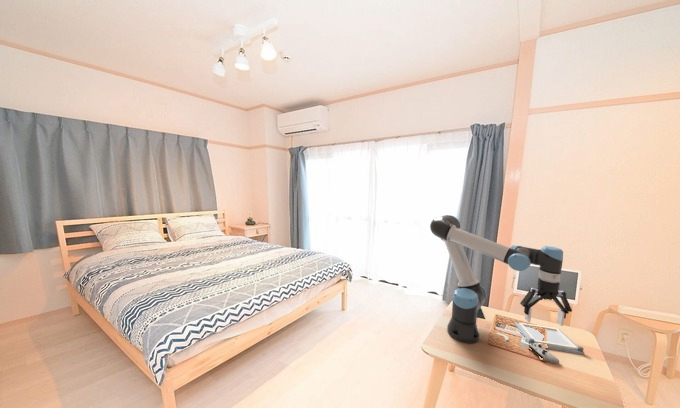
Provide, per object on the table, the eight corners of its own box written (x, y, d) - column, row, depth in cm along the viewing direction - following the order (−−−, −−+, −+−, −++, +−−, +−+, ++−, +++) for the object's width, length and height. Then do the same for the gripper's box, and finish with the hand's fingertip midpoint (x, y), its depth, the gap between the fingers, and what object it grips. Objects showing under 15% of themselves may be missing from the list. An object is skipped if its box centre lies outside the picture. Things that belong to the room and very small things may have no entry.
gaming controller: (562, 363, 105) (552, 352, 105) (551, 371, 106) (541, 361, 105) (541, 345, 116) (532, 335, 116) (531, 353, 117) (522, 343, 117)
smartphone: (472, 315, 142) (468, 303, 156) (472, 317, 142) (468, 304, 156) (485, 318, 139) (480, 305, 153) (485, 319, 140) (479, 307, 154)
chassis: (530, 345, 117) (530, 340, 117) (513, 324, 135) (514, 319, 134) (584, 354, 112) (584, 349, 111) (559, 331, 129) (560, 326, 129)
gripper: (523, 280, 107) (519, 323, 110) (586, 286, 103) (580, 330, 106) (514, 274, 115) (510, 314, 117) (573, 279, 111) (567, 320, 113)
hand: (543, 322), depth 111 cm, fingers open, 13 cm apart
